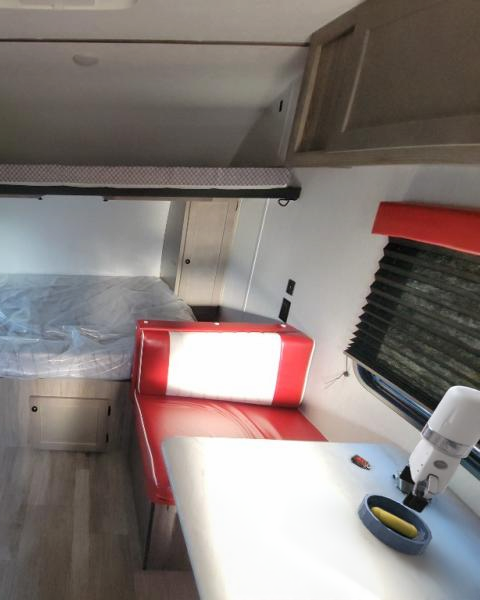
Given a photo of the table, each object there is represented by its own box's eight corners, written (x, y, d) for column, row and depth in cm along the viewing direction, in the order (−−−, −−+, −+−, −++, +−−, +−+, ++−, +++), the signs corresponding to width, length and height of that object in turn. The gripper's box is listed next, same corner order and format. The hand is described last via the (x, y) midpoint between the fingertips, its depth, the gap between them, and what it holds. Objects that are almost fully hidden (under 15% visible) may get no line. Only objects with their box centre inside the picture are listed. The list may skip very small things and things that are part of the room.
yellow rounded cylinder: (413, 534, 82) (419, 526, 81) (415, 543, 80) (421, 535, 79) (368, 510, 87) (372, 502, 86) (368, 518, 85) (373, 510, 84)
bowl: (420, 526, 85) (428, 515, 83) (427, 567, 75) (436, 556, 74) (358, 494, 92) (364, 484, 90) (357, 528, 82) (364, 517, 81)
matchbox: (350, 461, 103) (350, 459, 103) (353, 453, 107) (353, 451, 106) (368, 471, 100) (369, 470, 100) (371, 462, 104) (372, 461, 103)
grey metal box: (389, 465, 104) (395, 457, 96) (421, 472, 100) (430, 464, 92) (391, 498, 100) (397, 493, 92) (425, 507, 96) (434, 502, 88)
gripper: (481, 473, 65) (436, 531, 71) (461, 428, 77) (425, 481, 84) (428, 451, 69) (391, 508, 75) (418, 412, 82) (387, 463, 88)
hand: (409, 494), depth 79 cm, fingers open, 9 cm apart
